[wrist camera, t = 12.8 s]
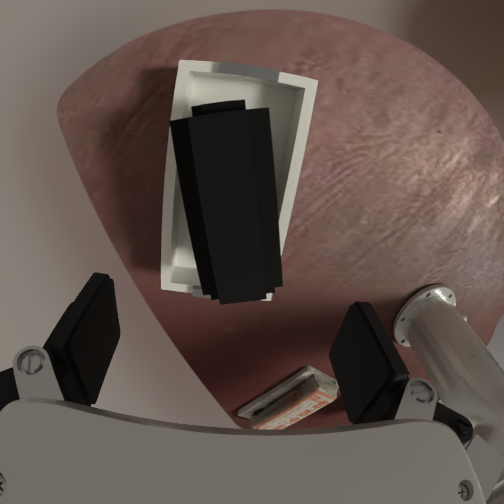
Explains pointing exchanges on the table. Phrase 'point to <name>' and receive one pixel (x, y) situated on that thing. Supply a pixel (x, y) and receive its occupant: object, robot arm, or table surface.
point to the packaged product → (291, 400)
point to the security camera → (230, 199)
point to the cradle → (283, 140)
